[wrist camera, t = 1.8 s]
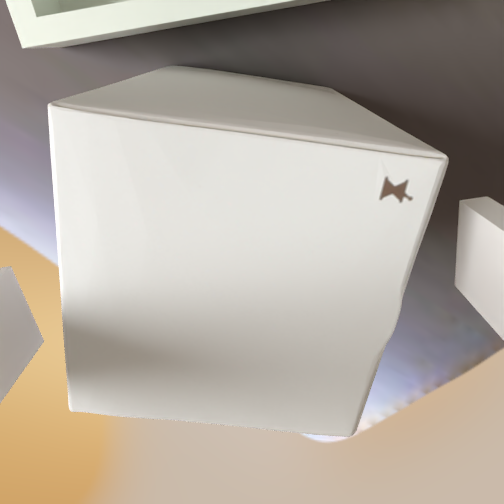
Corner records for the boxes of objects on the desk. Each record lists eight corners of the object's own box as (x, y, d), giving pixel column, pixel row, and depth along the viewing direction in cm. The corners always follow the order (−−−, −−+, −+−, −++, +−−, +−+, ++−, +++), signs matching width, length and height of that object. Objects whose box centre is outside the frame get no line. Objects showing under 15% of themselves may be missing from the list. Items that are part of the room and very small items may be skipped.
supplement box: (164, 60, 22) (31, 83, 8) (335, 86, 22) (469, 148, 9) (156, 223, 26) (57, 419, 12) (302, 241, 26) (360, 447, 13)
